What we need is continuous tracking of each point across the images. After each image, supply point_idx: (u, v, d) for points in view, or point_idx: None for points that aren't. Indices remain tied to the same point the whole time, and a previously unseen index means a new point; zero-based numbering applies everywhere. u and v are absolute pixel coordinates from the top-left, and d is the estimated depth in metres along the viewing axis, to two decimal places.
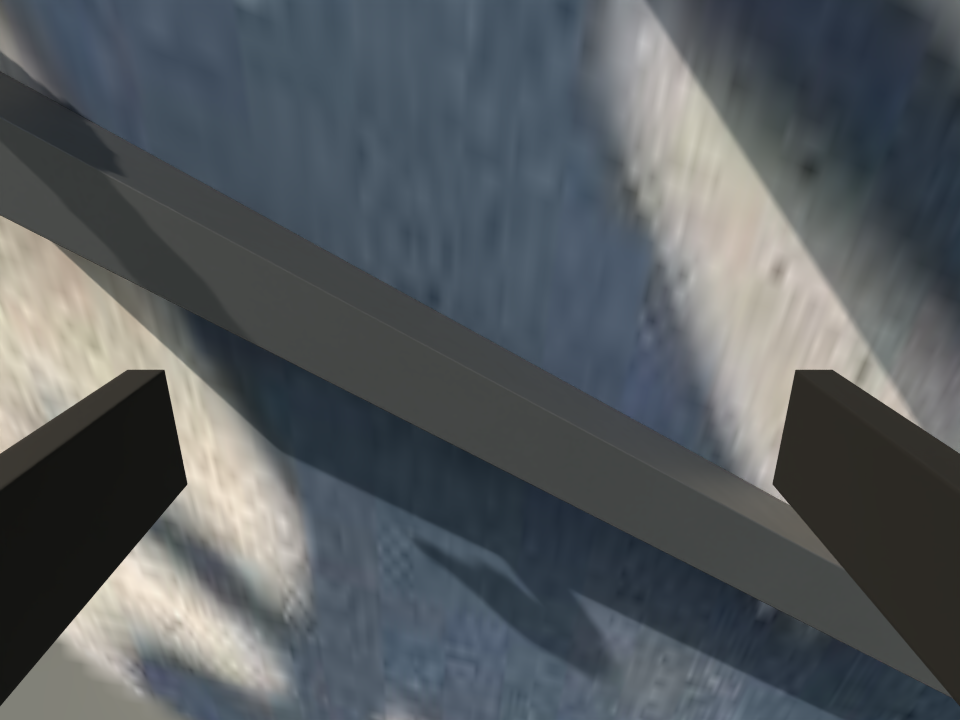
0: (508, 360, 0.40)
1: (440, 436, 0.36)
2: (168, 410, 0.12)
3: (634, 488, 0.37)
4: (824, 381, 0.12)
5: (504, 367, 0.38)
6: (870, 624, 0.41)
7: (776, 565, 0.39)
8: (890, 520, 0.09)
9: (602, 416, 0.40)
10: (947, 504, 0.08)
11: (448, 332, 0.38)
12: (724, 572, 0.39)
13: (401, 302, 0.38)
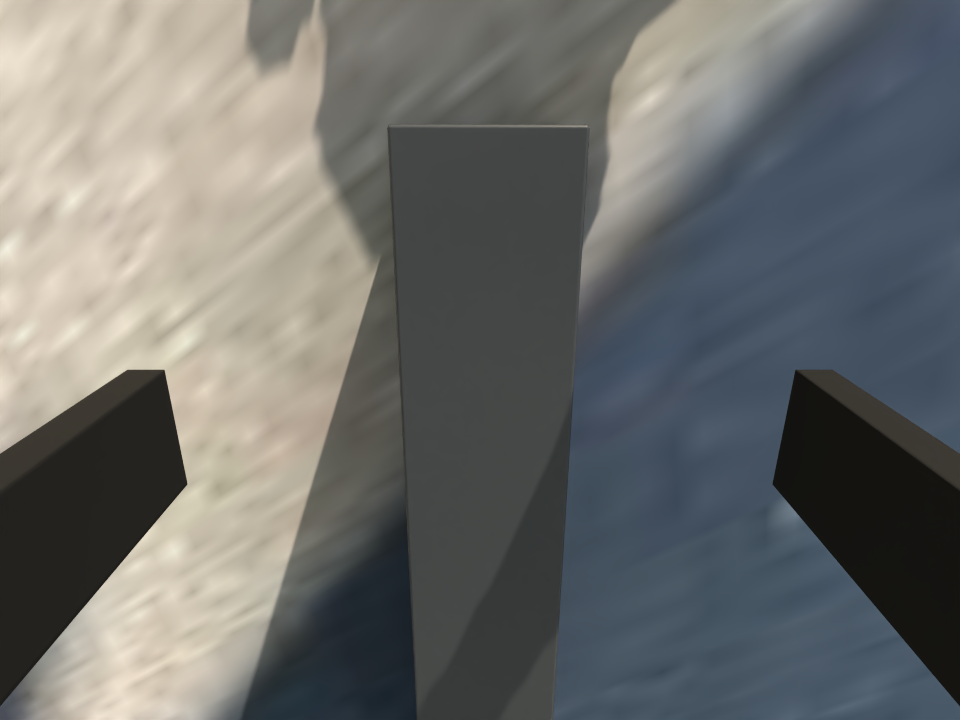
0: None
1: None
2: (168, 410, 0.12)
3: None
4: (824, 381, 0.12)
5: None
6: None
7: None
8: (890, 520, 0.09)
9: None
10: (947, 504, 0.08)
11: None
12: None
13: None
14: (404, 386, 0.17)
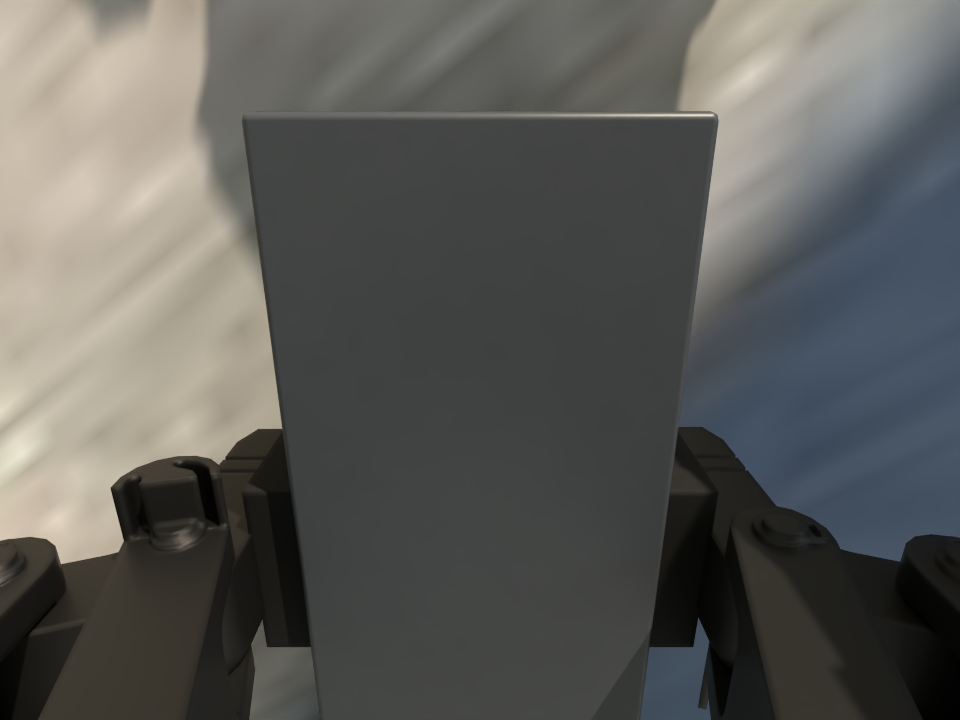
0: None
1: None
2: None
3: None
4: None
5: None
6: None
7: None
8: None
9: None
10: None
11: None
12: None
13: None
14: (316, 636, 0.08)
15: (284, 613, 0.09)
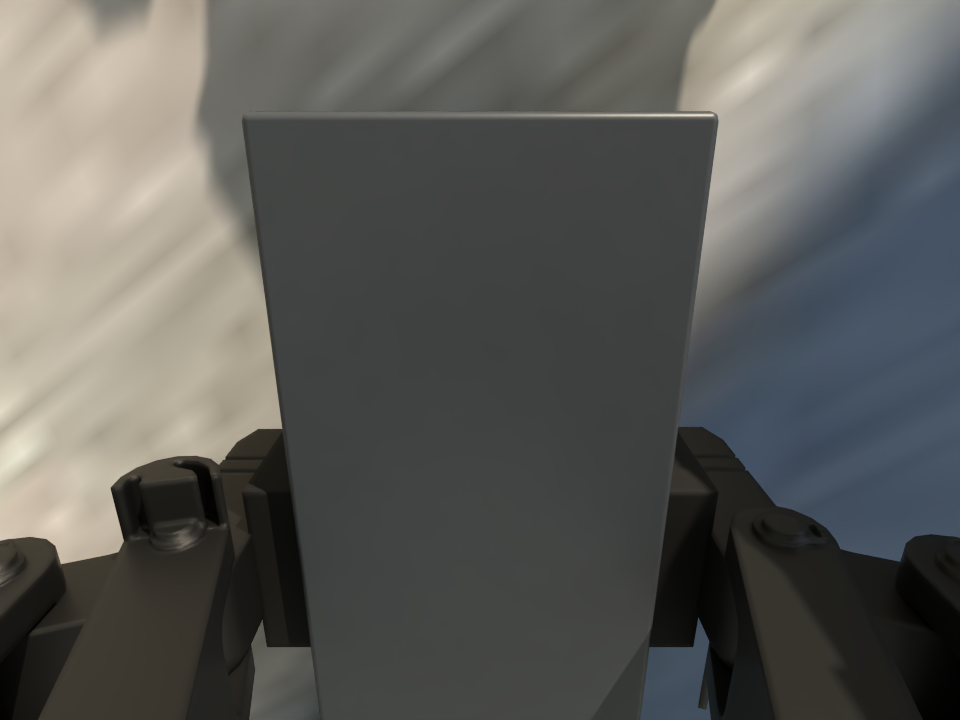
0: None
1: None
2: None
3: None
4: None
5: None
6: None
7: None
8: None
9: None
10: None
11: None
12: None
13: None
14: (316, 636, 0.08)
15: (284, 613, 0.09)
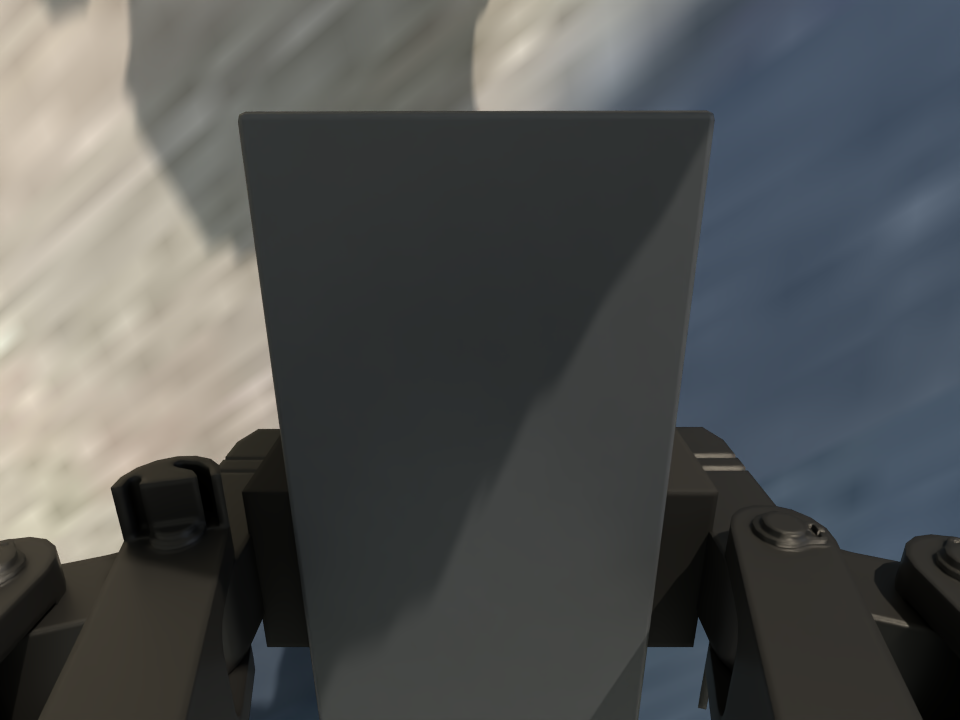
0: None
1: None
2: None
3: None
4: None
5: None
6: None
7: None
8: None
9: None
10: None
11: None
12: None
13: None
14: (315, 635, 0.08)
15: (284, 613, 0.09)
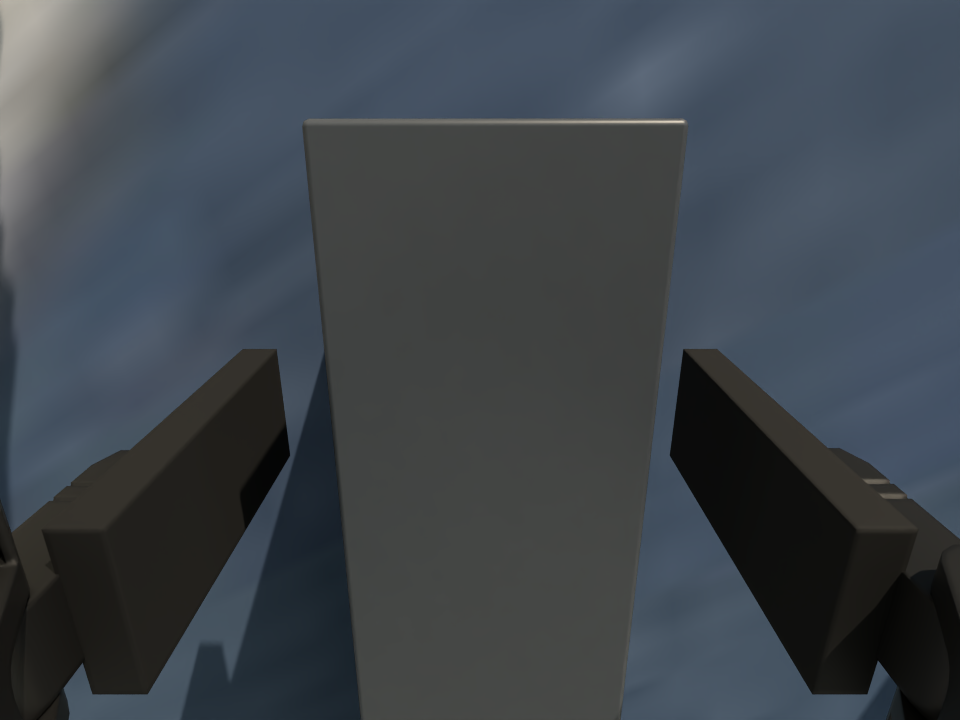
0: None
1: None
2: (278, 386, 0.13)
3: None
4: (704, 358, 0.13)
5: None
6: None
7: None
8: (737, 477, 0.10)
9: None
10: (768, 458, 0.09)
11: None
12: None
13: None
14: (352, 566, 0.10)
15: (106, 659, 0.08)
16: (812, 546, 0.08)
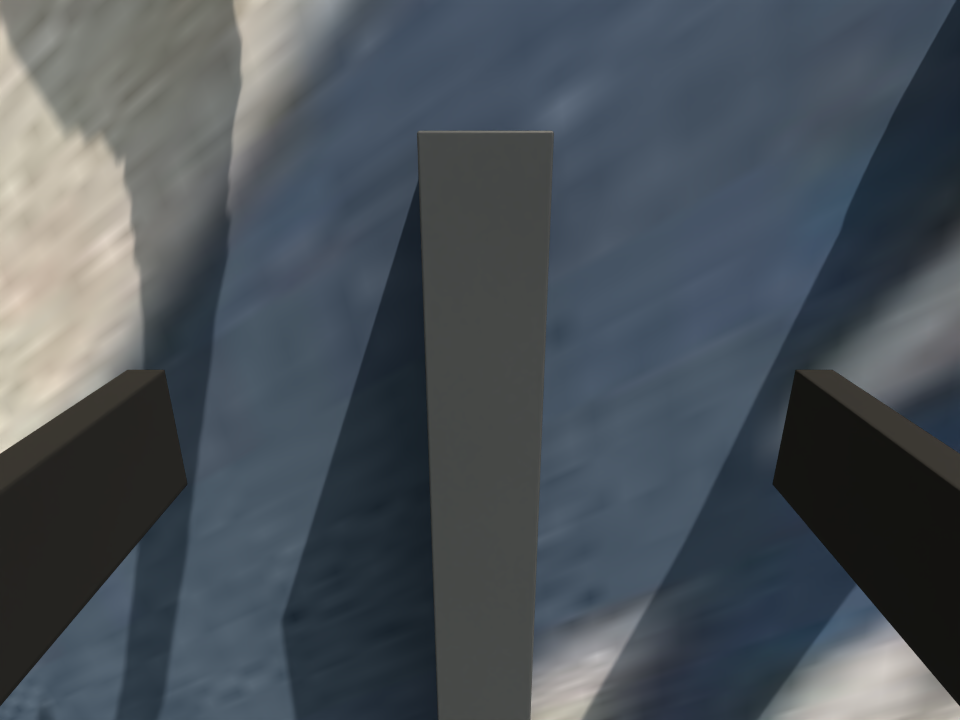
0: None
1: None
2: (168, 410, 0.12)
3: None
4: (824, 381, 0.12)
5: None
6: None
7: None
8: (890, 520, 0.09)
9: None
10: (947, 504, 0.08)
11: None
12: None
13: None
14: (426, 316, 0.23)
15: None
16: None
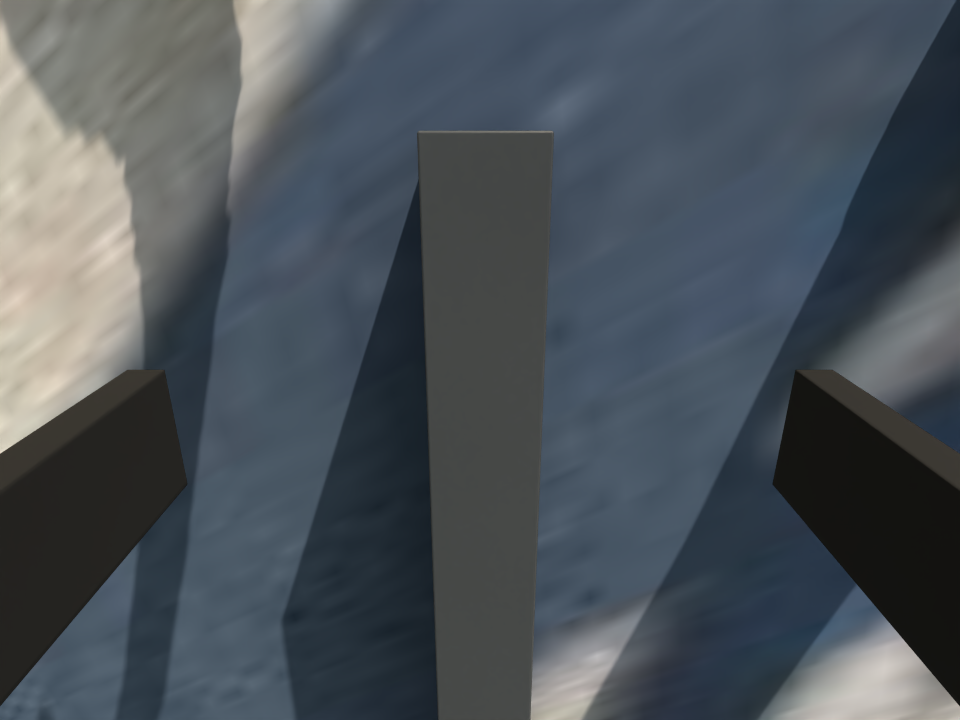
0: None
1: None
2: (168, 410, 0.12)
3: None
4: (824, 381, 0.12)
5: None
6: None
7: None
8: (890, 520, 0.09)
9: None
10: (947, 504, 0.08)
11: None
12: None
13: None
14: (426, 316, 0.23)
15: None
16: None
